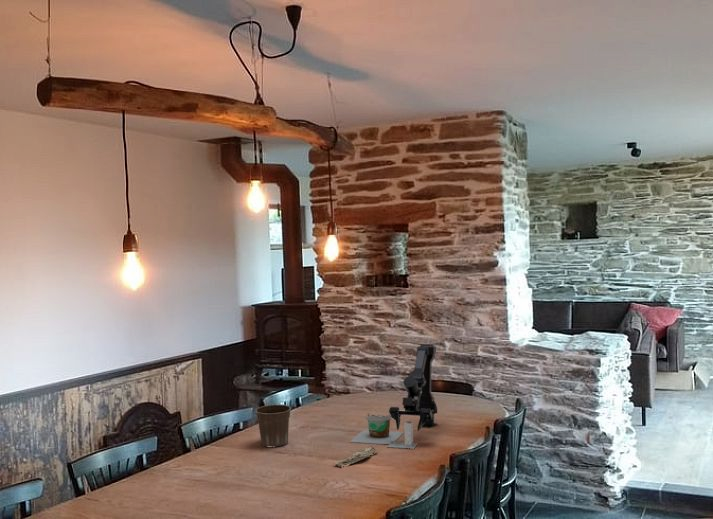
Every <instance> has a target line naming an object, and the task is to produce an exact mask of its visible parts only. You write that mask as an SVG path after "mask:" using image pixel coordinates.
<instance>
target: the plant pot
mask: <svg viewBox="0 0 713 519" xmlns="http://www.w3.org/2000/svg"><path fill="white" fill-rule="evenodd" d="M291 410H292V407H291V406H289V405H288V404H287V405H285V404H270V405H269V404H268V405H263V406H260V407H256V409H255V413H256V419H257V421H258V427H259V436H260V444H262V446H263V445H264V446H263V447H265V446H277V447H282V446H281V445H284V446H286V445H287V444H288V443H289V424H290V417H291ZM285 444H286V445H285Z"/></svg>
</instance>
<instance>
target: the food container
mask: <svg viewBox="0 0 713 519" xmlns="http://www.w3.org/2000/svg"><path fill="white" fill-rule="evenodd" d="M365 419H366V421H367V425H368V430H369V434H370V437H373V438H385V437H388V436H389V431H390V424H391V420H392V417H391V415H390V414H389V415H381V414H369V412H367V414H366V416H365Z"/></svg>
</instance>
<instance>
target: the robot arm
mask: <svg viewBox="0 0 713 519" xmlns="http://www.w3.org/2000/svg"><path fill="white" fill-rule="evenodd" d="M416 348H417V349H416V354H417V355H416V358H415V363H414V368H413V370H412V371H410V373H409V374H408V376H406V378H404V379H403V381H402V383H403V386H404V388H405V391H406V393H407V396H406V397H402V403H401V404H402V406H403V409H404V410H403V409H400V407H399V406H390V408H389V409H388V413H389V415H390V416H391V419H393V420H395V425H396V430H397V431H399V429H400V424H401V416H402V415H403V416H415V417H416V416H419V421H418V425H417V432H419V431H420V430H421V429H422V427H425V426H426V428H431V427H434V426H437V425H438V423H437V422H435V414H438V406H437V403H436V400H435V397H434V395H433V393H432V364H433V363H432V362H433V361H434V359H435V358H436V353H437V346H435V345H434V344H433V343H432V344H431V343H422V344H419V346H416Z"/></svg>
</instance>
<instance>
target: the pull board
mask: <svg viewBox="0 0 713 519" xmlns="http://www.w3.org/2000/svg"><path fill="white" fill-rule="evenodd" d="M403 425H404V426H403V428H404V429H403V430H404V431H391V430H389V436H388V437H385V438H373V437H370V434H369V429H363V430H362V431H360V432H359V433H358V434H357V435H355V437H353V438H352V439H351V440H349V443H354V444H355V443H356V444H372V445H384V444H389V445H387V446H386V447H387V448H388V447H394V448H393V449H404V448H408V449H407V450H409V448H410V450H415V448H416V447H417V446H418V445H417V444H419V443H418V442H414V426H413V421H405V422H404V423H403ZM403 434H404V441H397V440H398V439H399V438H401V437H402V435H403ZM416 445H417V446H416Z"/></svg>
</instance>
